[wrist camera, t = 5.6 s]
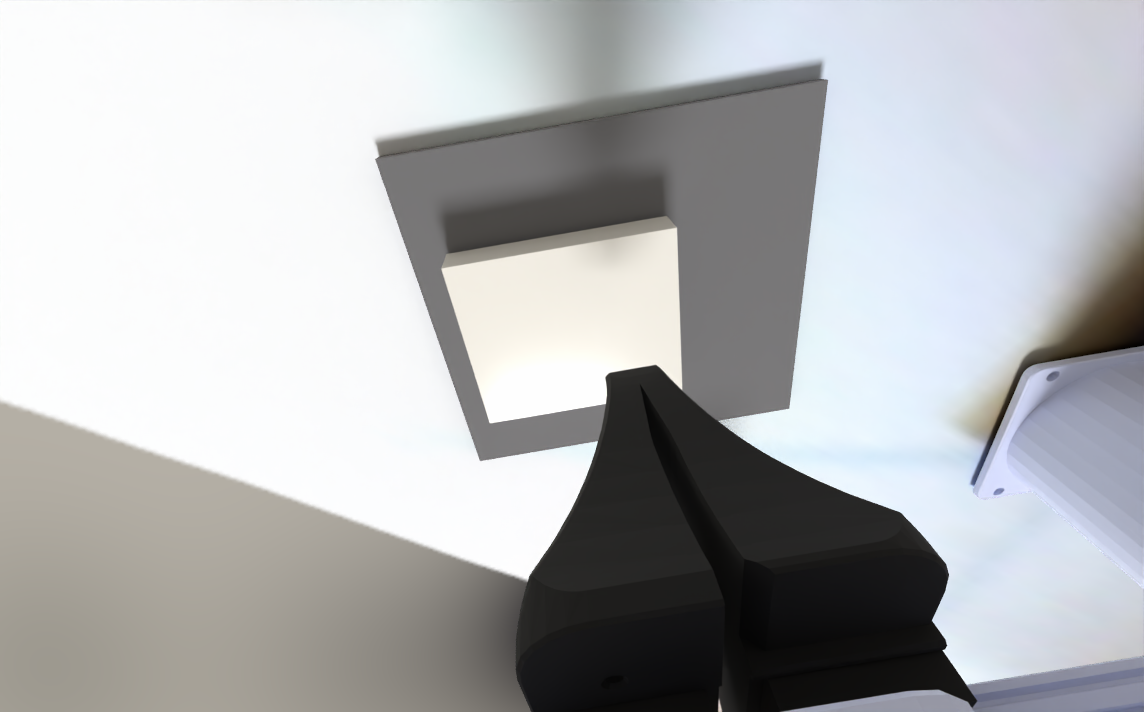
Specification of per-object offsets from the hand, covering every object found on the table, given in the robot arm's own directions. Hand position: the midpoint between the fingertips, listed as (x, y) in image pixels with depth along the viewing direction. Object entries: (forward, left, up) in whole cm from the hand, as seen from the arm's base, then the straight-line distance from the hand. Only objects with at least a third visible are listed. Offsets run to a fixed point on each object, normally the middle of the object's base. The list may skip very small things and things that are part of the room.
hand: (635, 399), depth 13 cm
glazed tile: (-2, 0, -4) cm, 5 cm away
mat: (-1, 0, -6) cm, 6 cm away
